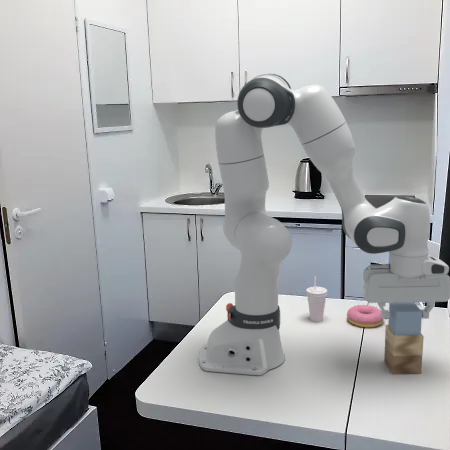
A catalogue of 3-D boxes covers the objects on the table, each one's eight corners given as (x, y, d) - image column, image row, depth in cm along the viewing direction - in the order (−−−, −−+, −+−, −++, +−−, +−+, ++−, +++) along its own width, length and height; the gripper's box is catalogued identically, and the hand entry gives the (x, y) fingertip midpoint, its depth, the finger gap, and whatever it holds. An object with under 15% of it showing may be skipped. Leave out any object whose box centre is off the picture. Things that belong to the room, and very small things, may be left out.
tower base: (392, 374, 126) (393, 355, 125) (384, 360, 133) (384, 343, 131) (421, 374, 126) (422, 355, 124) (411, 360, 132) (412, 342, 131)
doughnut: (347, 313, 163) (347, 301, 162) (383, 316, 160) (384, 303, 159) (345, 327, 153) (346, 314, 152) (384, 331, 150) (385, 317, 149)
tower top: (393, 356, 125) (394, 336, 123) (384, 343, 131) (385, 324, 130) (422, 355, 124) (423, 336, 123) (412, 342, 131) (413, 324, 130)
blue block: (395, 335, 124) (396, 312, 123) (388, 325, 130) (389, 302, 129) (420, 334, 124) (422, 311, 123) (412, 324, 130) (413, 302, 129)
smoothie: (309, 314, 163) (309, 272, 160) (329, 317, 160) (330, 274, 157) (303, 322, 157) (303, 278, 154) (323, 325, 155) (324, 280, 151)
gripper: (367, 268, 120) (365, 324, 123) (456, 266, 120) (451, 322, 123) (360, 260, 126) (359, 313, 129) (445, 259, 126) (441, 312, 129)
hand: (405, 318), depth 126 cm, fingers open, 8 cm apart
